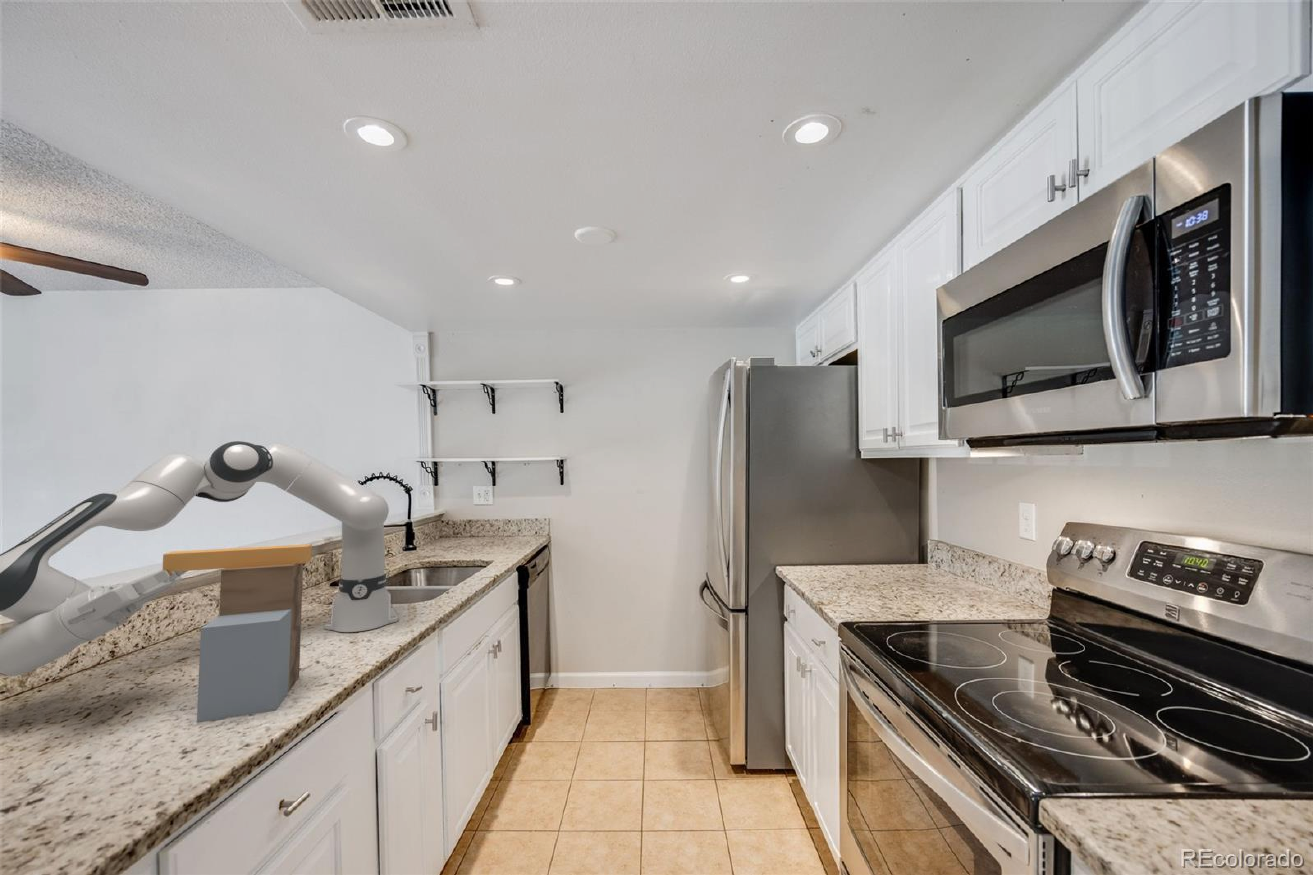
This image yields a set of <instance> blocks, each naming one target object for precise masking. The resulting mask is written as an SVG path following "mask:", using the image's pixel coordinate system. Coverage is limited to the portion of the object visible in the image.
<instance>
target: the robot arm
mask: <svg viewBox="0 0 1313 875" xmlns="http://www.w3.org/2000/svg"><path fill="white" fill-rule="evenodd" d="M261 482H262V483H266V484H271V485H274V486H276V487H277V488H279V489H280V490H283V491H284V492H286V493H288V494H290V495H292V496H294V497H296V498H298V499H300V500H301V501H303V502H305V503H307V504H309V505H311V506H313V507H315V508H317V509H319V510H320V511H322V512H323V513H325V514H327V515H328V516H330V517H332V518H334V519H336V520H337V521H339V522H341V572H340V574H341V577H340V578H339V582H338V592H339V593H338V594H337V595H336V596H335V597H333V599H332V604H331V605H332V606H331V617H330V621H328V622H327V623H325V624H324V626H323V629H324V630H329V631H330V630H331V631H335V632H339V633H354V632H363V631H364V632H365V631H368V630H375V629H377V628H378V629H379V628H381V627H384V626H386V625H388V624H392V623H396V622H398V621H399V618H398V615H397V613H396V610H395V609H394V607H393V604H392V603H391V600H392V599H391V596H392V595H391V593H390V592H389V591H388V590H387V588H386V586H387V574H386V573H385V570H386V569H385V567H386V562H385V561H386V543H385V525H384V524H385V522H386V521H387V519H388V517H389V512H390V510H389V508H390V507H389V504H388V502H387V501H386V499H385V498H384V497H383V496H381V495H379V494H378V493H376V492H375V491H373V490H371V489H370V488H368V487H365V486H364V485H362V484H360V483H358V482H357V481H355V480H353V479H351V478H349V476H346V475H345V474H342V473H341V472H339V471H337V470H335V469H334V468H332V467H330V466H328V465H326V464H325V463H323V462H321V461H319V460H317V459H316V458H313V457H312V456H310V455H309V454H306V453H305V452H303V451H301V450H298V449H297V448H294V447H291V446H288V445H285V444H282V443H278V442H277V443H276V442H275V443H274V442H273V443H270V444H268V445H266V446H263V445H261V444H258V445H257V444H254V443H251V442H248V441H247V442H246V441H230V442H226V443H224V444H222V445H220V446H219V447H217V448H216V449H215V450H214V451H213V452H212V453H211V455H210V457H209V458H208V459H197V458H194V457H193V456H190V455H187V454H185V453H184V454H183V453H171V454H167V455H164V456H163V457H161V458H160V459H158V460H157V461H155V462H153V463H152V464H151V465H149V466H148V467H147V468H145V469H144V470H143V471H141V472H140V473H139V474H138V475H137V476H135V477H134V478H133V479H132V480H130V482H129V483H128V484H126V486H124V487H123V488H122V489H120V490H117V491H115V492H113V493H106V492H103V493H98V494H95V495H93V496H91V497H90V496H89V497H88V498H87V499H85V500H83V501H81V502H79V503H78V504H76V505H74V506H72V507H71V508H69V509H68V510H67V511H65V512H63V513H62V514H61V515H59V516H57V517H56V518H55V519H53V520H51V521H50V522H48V523H47V524H46V525H44V526H43V527H41V528H39V529H38V530H37V531H35V532H34V533H32V534H30V535H29V536H28V537H26V538H25V539H23V540H22V541H20V542H19V543H17V544H16V545H14V546H13V547H11V548H9V549H8V550H6V551H4V552H3V553H0V615H1V616H3V617H4V618H7V619H10V620H13V621H14V622H13V623H12V625H11V626H10V627H9V629H8V630H7V631H6V632H3V633H1V634H0V675H2V676H6V677H17V676H22V675H25V674H27V673H30V672H32V671H35V670H37V669H39V668H41V667H44V666H46V665H47V664H50V663H52V662H54V661H56V660H58V659H60V658H62V657H64V656H66V655H67V654H69V653H71V652H72V651H74V650H75V649H76V648H77V647H79V646H80V645H81V644H84V643H87V642H88V643H89V642H91V641H93V640H96V639H97V638H100V637H101V636H103V635H105V634H107V633H109V632H110V631H113V630H114V629H115V630H116V628H118V627H121V626H122V625H124V624H125V623H126V622H127V621H128V620H129V619H130V618H131V616H133V615H134V614H135V613H136V612H138V611H140V610H141V609H143V607H144V605H145V604H147V603H148V602H149V601H151V600H153V599H154V598H156V597H158V596H160V595H161V594H162V593H164V592H166V591H167V590H168V589H170V588H172V587H173V586H175V585H176V584H178V583H179V582H180V581H182V575H184V574H186V573H187V572H188V571H175V572H170V571H169V570H164V571H162V570H163V569H161V570H158V571H155V572H153V573H150V574H148V575H145V576H143V577H140V578H136V579H134V580H131V581H130V582H121V583H117V584H113V585H111V584H110V585H104V586H103V585H96V586H92V587H91V586H90V585H88V584H86V583H84V582H83V581H80V580H79V579H77V578H75V577H73V576H70V575H68V574H66V573H64V572H62V571H60V570H58V569H56V568H55V567H52V566H50V565H49V560H50V559H51V557H52V556H54V555H55V554H57V553H58V552H59V551H61V550H62V549H64V548H65V547H66V546H68V545H69V544H71V543H72V542H74V540H76V539H77V538H78V537H80V536H81V535H83V534H84V533H86V532H88V531H89V530H91V529H93V528H97V527H107V528H113V529H118V530H125V531H132V532H147V531H153V530H156V529H159V528H162V527H164V526H166V525H168V524H169V523H170V522H172V521H173V520H174V519H175V518H176V517H177V516H178V515H179V514H180V512H181V511H182V510H183V509H184V508H185V507H186V506H187V504H189V502H191V500H192V499H193V498H195V497H198V498H202V499H208V500H209V501H213V502H217V503H218V502H219V503H228V502H233V501H236V500H238V499H240V498H242V497H244V496H245V495H246V494H247V493H248V492H249V491H250V489H252V488H253V486H254V485H255V484H256V483H261Z"/></svg>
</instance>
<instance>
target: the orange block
mask: <svg viewBox="0 0 1313 875" xmlns="http://www.w3.org/2000/svg"><path fill="white" fill-rule="evenodd" d="M312 546H313V544H312V543H310V544H309V543H308V544H292V545H291V544H290V545H289V544H288V545H269V546H252V547H251V546H250V547H249V546H248V547H236V548H235V547H232V548H217V549H215V548H214V549H198V550H197V549H195V550H194V549H193V550H176V551H175V550H174V551H169V552H166V553H163V554H162V569H161V570H162V571H164V570H169V571H170V572H175V571H187V572H189V571H204V570H205V571H206V570H219V569H221V570H223V569H225V568H237V567H253V566H268V565H284V564H299V563H303V564H308V563H309V562H310V561H312V552H313V551H312V548H313V547H312Z"/></svg>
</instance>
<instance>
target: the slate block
mask: <svg viewBox="0 0 1313 875" xmlns="http://www.w3.org/2000/svg"><path fill="white" fill-rule="evenodd" d="M290 633H291V609H289V610H278V611H267V612H257V613H246V614H235V615H224V616H219V615H218V616H216V618H213V619H212V620H211V621H209V622H208V623H207V624H205V625H203V626H202V627H200V639H199V660H198V662H199V663H198V684H197V685H198V686H197V687H198V688H197V703H196V704H197V707H196V710H197V711H196V723H202V722H208V721H215V720H221V719H227V718H233V717H240V716H246V715H252V714H260V713H261V714H262V713H266V712H273V711H277V709H278V708H279V707H280V706H281V704H282V703H283V701H284V700H285V698H286V697H287V695H288V694H289V692H290V691H289V662H290ZM288 691H289V692H288Z"/></svg>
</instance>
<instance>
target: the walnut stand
mask: <svg viewBox="0 0 1313 875" xmlns="http://www.w3.org/2000/svg"><path fill="white" fill-rule="evenodd" d="M303 572H304V563H299V564H284V565H268V566H253V567H237V568H222V569H221V571H220V588H219V589H220V590H219V591H220V592H219V613H218V616H224V615H235V614H246V613H257V612H267V611H278V610H289V609H291V633H290V662H289V691H288V693H290V691H291V690H292V688H293V687H294V685H295V684H296V683H297V681H298V680H299V679H300V667H301V666H300V663H301V639H302V638H301V636H302V635H301V634H302V633H301V632H302V604H303V601H302V600H303V575H304V574H303Z"/></svg>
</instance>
